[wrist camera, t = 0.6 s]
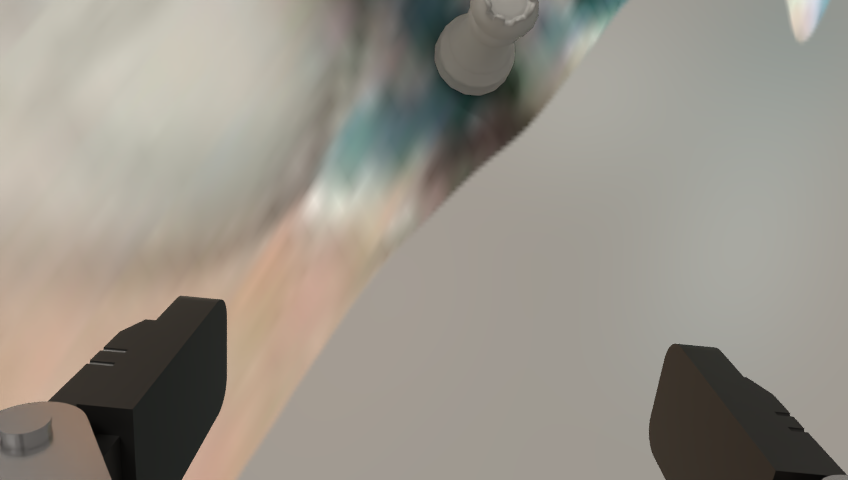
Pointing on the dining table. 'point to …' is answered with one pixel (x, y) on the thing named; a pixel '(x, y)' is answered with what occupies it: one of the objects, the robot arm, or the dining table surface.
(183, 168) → the dining table surface
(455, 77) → the rook chess piece
